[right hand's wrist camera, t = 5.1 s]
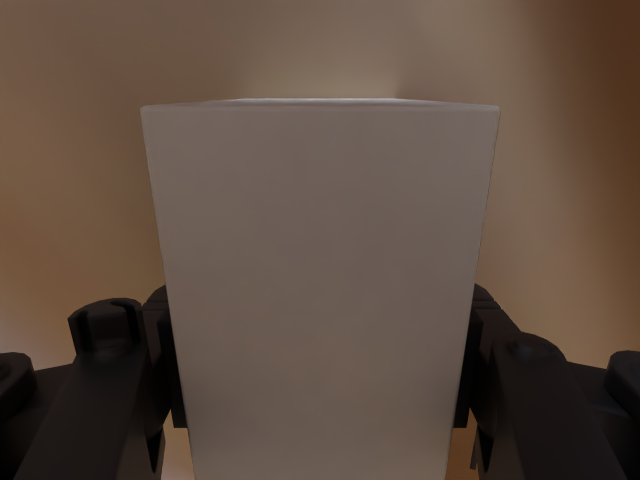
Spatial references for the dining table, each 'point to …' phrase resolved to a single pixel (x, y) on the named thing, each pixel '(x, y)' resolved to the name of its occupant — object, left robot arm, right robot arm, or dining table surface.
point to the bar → (320, 278)
